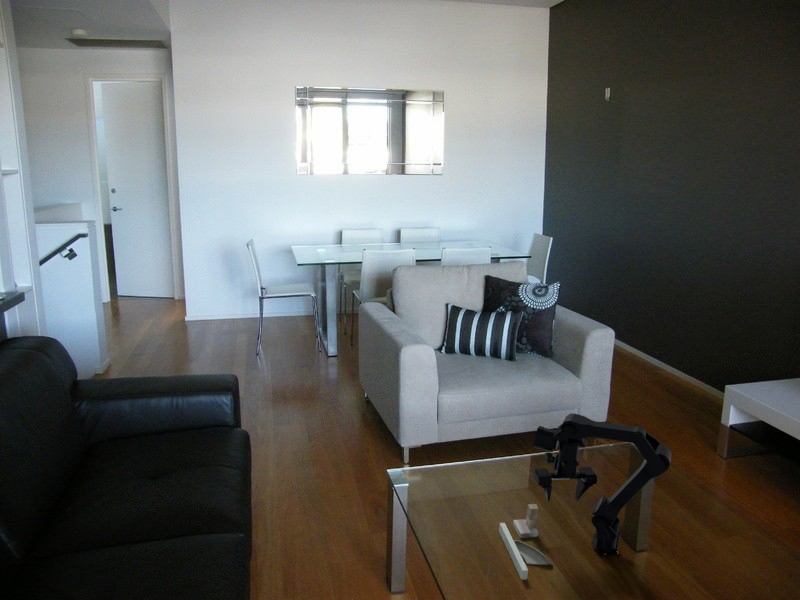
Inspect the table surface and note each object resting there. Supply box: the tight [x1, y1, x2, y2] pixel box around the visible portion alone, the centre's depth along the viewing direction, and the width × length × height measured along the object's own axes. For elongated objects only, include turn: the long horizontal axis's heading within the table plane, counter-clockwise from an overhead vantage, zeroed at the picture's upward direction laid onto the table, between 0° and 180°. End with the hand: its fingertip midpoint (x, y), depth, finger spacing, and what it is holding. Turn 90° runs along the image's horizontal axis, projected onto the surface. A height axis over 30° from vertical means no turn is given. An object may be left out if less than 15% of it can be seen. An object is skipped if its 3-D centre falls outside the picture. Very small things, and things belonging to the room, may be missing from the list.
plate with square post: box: [512, 503, 539, 539], centre depth 205 cm, size 6×7×9 cm
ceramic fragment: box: [513, 539, 554, 567], centre depth 193 cm, size 14×5×4 cm, turn 48°
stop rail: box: [498, 522, 529, 581], centre depth 194 cm, size 2×22×3 cm, turn 9°
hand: (562, 500), depth 201 cm, fingers open, 9 cm apart
